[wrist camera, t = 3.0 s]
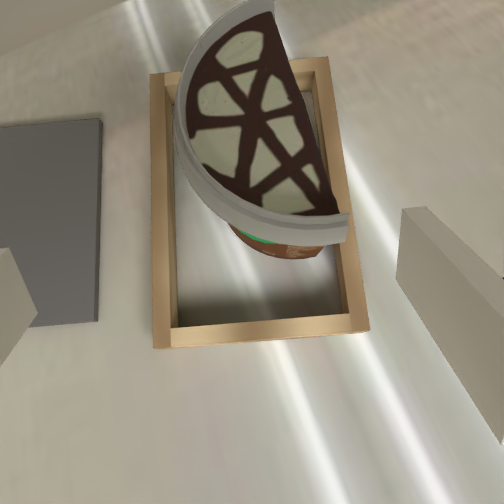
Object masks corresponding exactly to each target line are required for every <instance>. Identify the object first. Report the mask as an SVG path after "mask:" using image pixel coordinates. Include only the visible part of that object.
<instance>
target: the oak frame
mask: <svg viewBox="0 0 504 504" xmlns="http://www.w3.org/2000/svg"><path fill="white" fill-rule="evenodd" d="M288 61H289V63H290V66H291V69H292V72H293V74H294V77H295V80H296V82H297V85H298V87H299V90H300V91H309V90H312V95H313V102H314V109H315V116H316V124H317V131H318V138H319V145H320V153H321V160H322V163H323V166H324V169H325V172H326V175H327V178H328V181H329V184H330V187H331V190H332V192H333V195H334V197H335V198H336V200H337V205H338V209H339V212H340V214H341V213H346V212H350V215H349V218H348V220H347V221H348V224H349V228H348V232H347V236H346V240H345V242H342V243H337V244H333V247H334V254H335V261H336V268H337V276H338V283H339V290H340V297H341V305H342V312H343V314H337V315H325V316H313V317H301V318H289V319H277V320H265V321H253V322H242V323H230V324H218V325H206V326H194V327H182V328H178V297H177V262H176V228H175V193H174V159H173V125H172V104H175V96H176V92H177V87H178V83H179V79H180V77H181V73H182V71H178V72H168V73H158V74H150V142H151V224H152V305H153V348H155V349H172V348H184V347H196V346H208V345H220V344H233V343H245V342H257V341H269V340H281V339H293V338H305V337H317V336H329V335H341V334H353V333H363V332H366V331H369V330H370V325H369V318H368V312H367V305H366V299H365V292H364V286H363V279H362V273H361V266H360V260H359V254H358V247H357V241H356V234H355V228H354V221H353V215H352V208H351V202H350V195H349V189H348V182H347V176H346V170H345V163H344V157H343V150H342V144H341V137H340V131H339V124H338V118H337V111H336V105H335V98H334V92H333V86H332V79H331V73H330V66H329V60H328V56H327V57H317V58H307V59H297V60H288Z"/></svg>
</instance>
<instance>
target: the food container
mask: <svg viewBox="0 0 504 504" xmlns="http://www.w3.org/2000/svg"><path fill="white" fill-rule="evenodd" d="M174 125H175V139H176V147H177V153H178V156H179V159H180V163H181V166H182V169H183V171H184V173H185V175H186V177H187V179H188V181H189V182H190V184H191V186H192V188H193V189H194V190H195V192H196V193H197V194H198V196H199V197H200V198H201V199H202V201H203V202H204V203H205V204H206V205H207V206H208V207H209V208H210V209H211V210H212V211H214V212H215V213H216V214H217V215H218V216H219V217H220V218H222V219H223V220H225V221H226V222H228V224H229V225H230V227H231V229H232V230H233V231H234V232H235V234H236V235H237V236H238V237H239V238H240V239H241V240H242V241H243V242H245V243H246V244H247V245H249V246H250V247H252V248H253V249H255V250H257V251H259V252H261V253H263V254H266V255H269V256H273V257H276V258H283V259H305V258H310V257H315V256H317V254H318V253H319V252H320V251H321V250H322V249H323V247H324V246H325V245H331V244H337V243H342V242H345V240H346V236H347V232H348V228H349V224H348V221H347V220H348V218H349V215H350V212H346V213H341V214H340V212H339V209H338V205H337V200H336V198H335V197H334V195H333V192H332V190H331V187H330V184H329V181H328V178H327V175H326V172H325V169H324V166H323V163H322V160H321V156H320V153H319V150H318V147H317V144H316V141H315V137H314V134H313V131H312V127H311V124H310V120H309V117H308V114H307V110H306V107H305V103H304V100H303V98H302V95H301V92H300V90H299V87H298V85H297V82H296V80H295V77H294V74H293V72H292V69H291V66H290V63H289V61H288V58H287V55H286V52H285V49H284V46H283V43H282V40H281V37H280V34H279V31H278V28H277V25H276V22H275V13H274V0H248V1H246V2H243V3H241V4H239V5H238V6H236V7H235V8H233V9H231V10H230V11H228V12H227V13H225V14H224V15H222V16H221V17H220V18H219V19H218V20H217V21H216V22H214V23H213V24H212V25H211V26H210V27H209V28H208V29H207V30H206V31H205V33H204V34H203V35H202V36H201V37H200V38H199V40H198V41H197V43H196V44H195V46H194V47H193V49H192V51H191V52H190V54H189V56H188V58H187V60H186V63H185V65H184V68H183V70H182V73H181V77H180V79H179V83H178V87H177V92H176V96H175V109H174Z"/></svg>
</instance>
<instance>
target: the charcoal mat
mask: <svg viewBox="0 0 504 504" xmlns="http://www.w3.org/2000/svg"><path fill="white" fill-rule="evenodd" d="M102 126H103V123H102V122H101V120H100V119H99V118H96V119H85V120H75V121H65V122H55V123H45V124H35V125H24V126H14V127H4V128H0V248H9V249H10V251H11V253H12V255H13V258H14V260H15V262H16V265H17V267H18V269H19V271H20V274H21V276H22V278H23V280H24V283H25V285H26V287H27V289H28V292H29V294H30V296H31V298H32V301H33V303H34V305H35V308H36V310H37V312H38V314H37V315H36V317H35V318H34V320H33V321H32V323H31V324H30V325H29V327H38V326H50V325H62V324H73V323H85V322H97V321H98V293H99V252H100V210H101V168H102Z"/></svg>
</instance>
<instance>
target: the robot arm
mask: <svg viewBox="0 0 504 504" xmlns="http://www.w3.org/2000/svg"><path fill="white" fill-rule="evenodd" d="M396 280H397V282H398V284H399V285H400V287H401V288H402V290H403V291H404V293H405V295H406V296H407V298H408V299H409V301H410V302H411V304H412V306H413V307H414V309H415V310H416V312H417V314H418V315H419V317H420V318H421V320H422V321H423V323H424V325H425V326H426V328H427V329H428V331H429V332H430V334H431V336H432V337H433V339H434V340H435V342H436V344H437V345H438V347H439V348H440V350H441V351H442V353H443V355H444V356H445V358H446V359H447V361H448V362H449V364H450V366H451V367H452V369H453V370H454V372H455V373H456V375H457V377H458V378H459V380H460V381H461V383H462V385H463V386H464V388H465V389H466V391H467V392H468V394H469V396H470V397H471V399H472V400H473V402H474V403H475V405H476V407H477V408H478V410H479V411H480V413H481V414H482V416H483V418H484V419H485V421H486V422H487V424H488V426H489V427H490V429H491V430H492V432H493V433H494V435H495V437H496V438H497V440H498V441H499V443H500V444H501V445H504V278H502V277H500V276H499V275H498V274H497V273H496V272H495V271H494V270H493V269H492V268H491V267H490V266H489V265H488V264H487V263H486V262H484V261H483V260H482V259H481V258H480V257H479V256H478V255H477V254H476V253H475V252H474V251H473V250H472V249H471V248H470V247H468V246H467V245H466V244H465V243H464V242H463V241H462V240H461V239H460V238H459V237H458V236H457V235H456V234H455V233H454V232H452V231H451V230H450V229H449V228H448V227H447V226H446V225H445V224H444V223H443V222H442V221H441V220H440V219H439V218H438V217H436V216H435V215H434V214H433V213H432V212H431V211H430V210H429V209H428V208H427V207H426V206H425V207H415V208H405V209H402V217H401V228H400V239H399V249H398V260H397V271H396ZM37 314H38V312H37V310H36V308H35V305H34V303H33V301H32V298H31V296H30V294H29V292H28V289H27V287H26V285H25V283H24V280H23V278H22V276H21V274H20V271H19V269H18V267H17V265H16V262H15V260H14V258H13V255H12V253H11V251H10V249H9V248H0V366H1V365H2V363H3V362H4V361H5V359H6V358H7V356H8V355H9V354H10V352H11V351H12V349H13V348H14V347H15V345H16V344H17V342H18V341H19V339H20V338H21V337H22V335H23V334H24V332H25V331H26V330H27V328H28V327H29V325H30V324H31V323H32V321H33V320H34V318H35V317H36V315H37Z"/></svg>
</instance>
